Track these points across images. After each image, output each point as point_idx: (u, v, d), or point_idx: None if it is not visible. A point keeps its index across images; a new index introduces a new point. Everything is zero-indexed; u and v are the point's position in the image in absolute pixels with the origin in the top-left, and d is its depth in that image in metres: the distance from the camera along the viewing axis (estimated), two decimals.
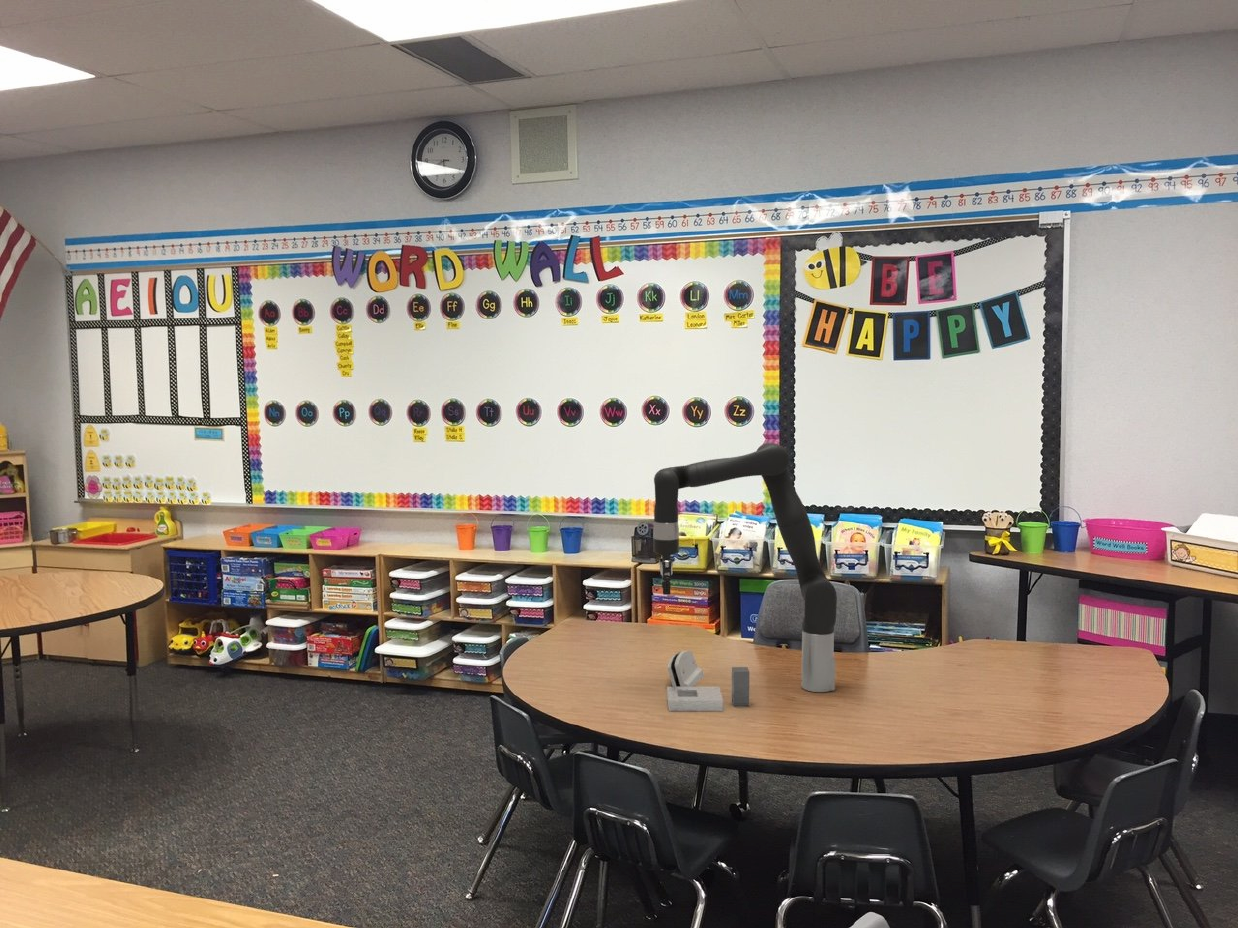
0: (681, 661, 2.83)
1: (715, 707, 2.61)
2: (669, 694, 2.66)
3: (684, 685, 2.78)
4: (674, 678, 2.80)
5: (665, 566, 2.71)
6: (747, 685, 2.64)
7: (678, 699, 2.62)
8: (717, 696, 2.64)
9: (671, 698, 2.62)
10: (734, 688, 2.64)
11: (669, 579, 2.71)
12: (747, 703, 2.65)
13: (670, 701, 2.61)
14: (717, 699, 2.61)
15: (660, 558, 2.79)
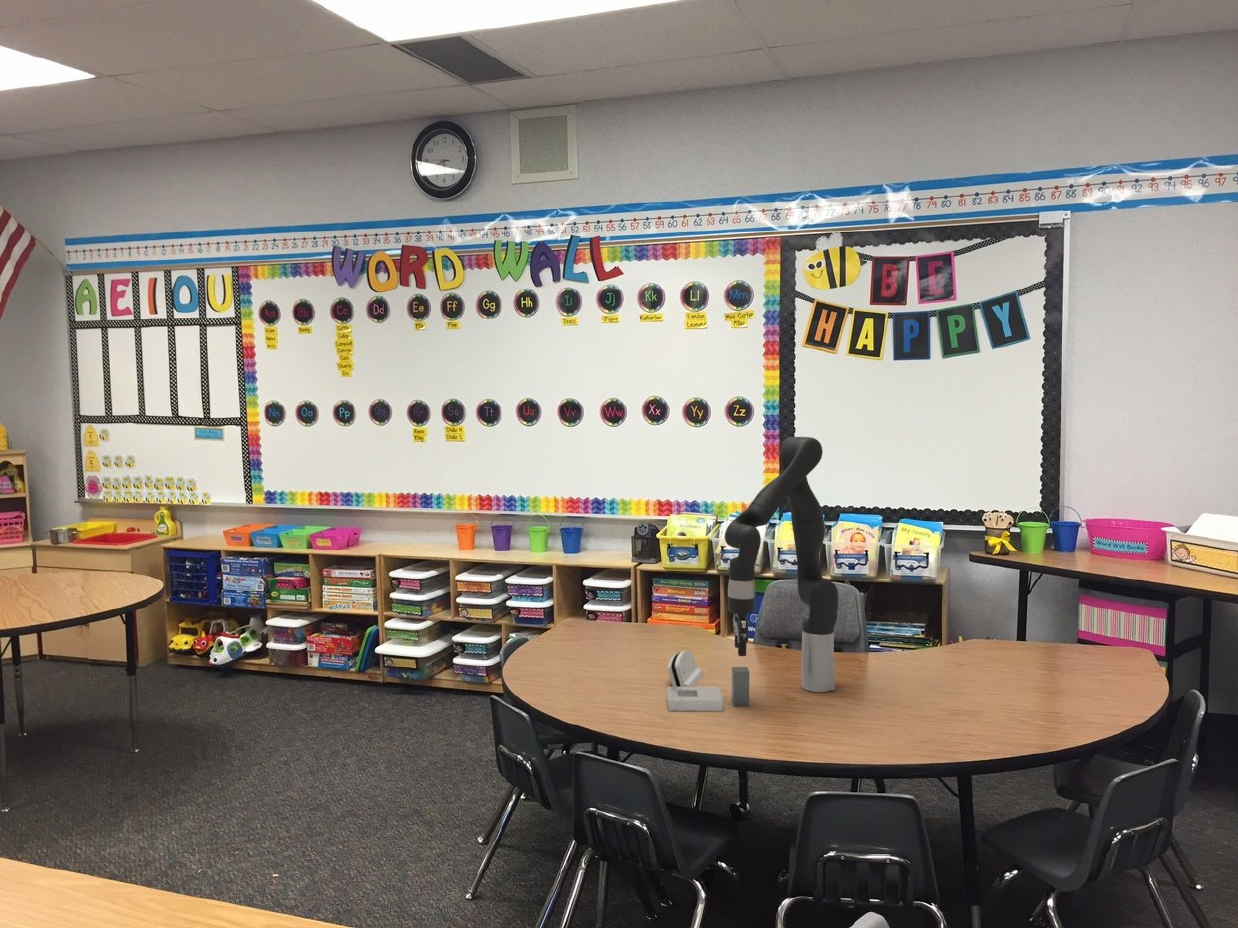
0: (681, 661, 2.82)
1: (715, 707, 2.61)
2: (669, 694, 2.66)
3: (684, 685, 2.78)
4: (674, 678, 2.79)
5: (742, 627, 2.58)
6: (747, 685, 2.64)
7: (678, 699, 2.62)
8: (717, 696, 2.64)
9: (671, 698, 2.62)
10: (734, 688, 2.64)
11: (746, 640, 2.58)
12: (747, 703, 2.65)
13: (670, 701, 2.61)
14: (717, 699, 2.61)
15: (734, 617, 2.66)
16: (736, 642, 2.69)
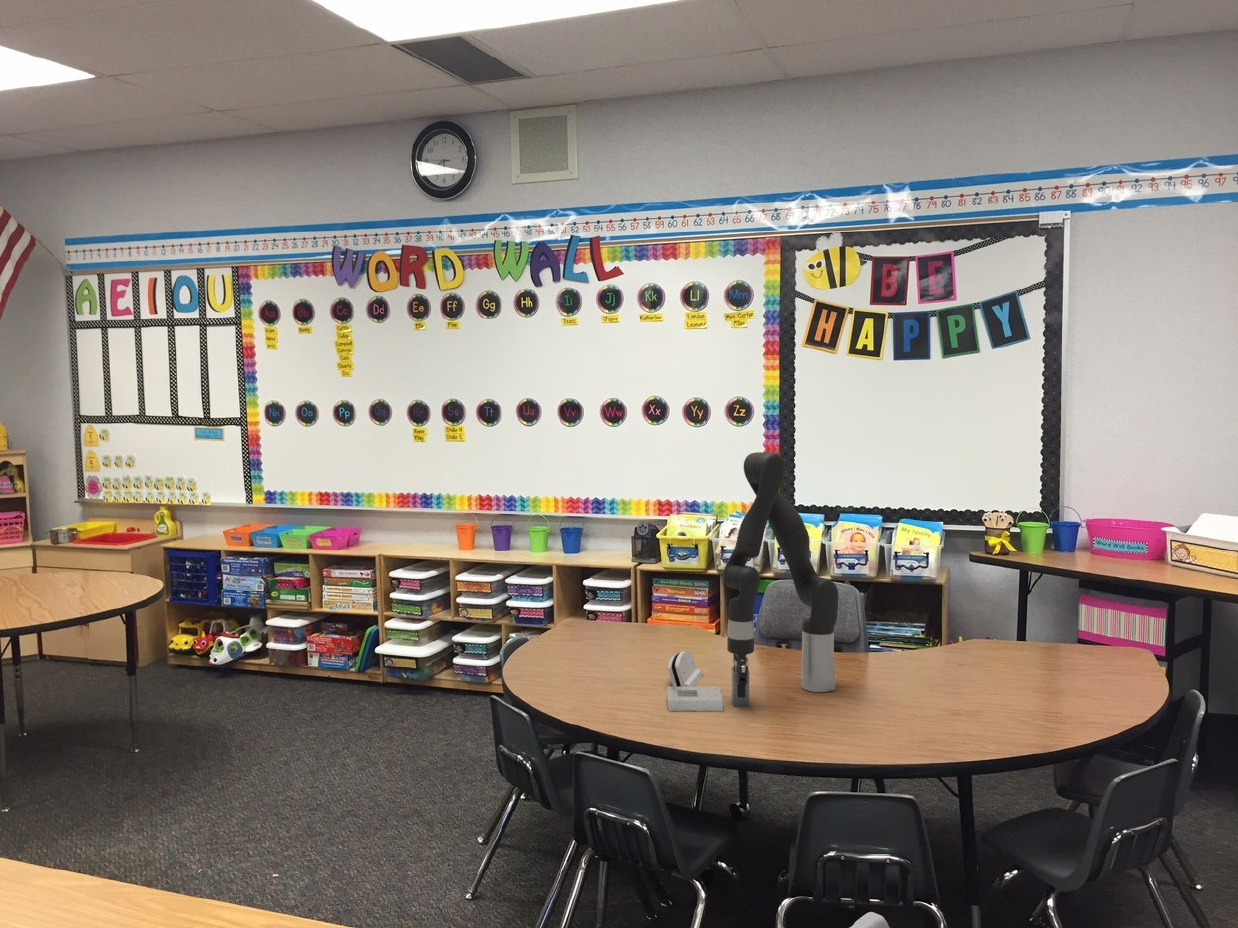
0: (681, 661, 2.82)
1: (715, 707, 2.61)
2: (669, 694, 2.66)
3: (685, 685, 2.78)
4: (675, 678, 2.79)
5: (741, 672, 2.60)
6: (747, 685, 2.64)
7: (678, 699, 2.62)
8: (717, 696, 2.64)
9: (671, 698, 2.62)
10: (734, 688, 2.64)
11: (745, 683, 2.61)
12: (747, 703, 2.64)
13: (670, 701, 2.61)
14: (717, 699, 2.61)
15: (734, 656, 2.67)
16: None
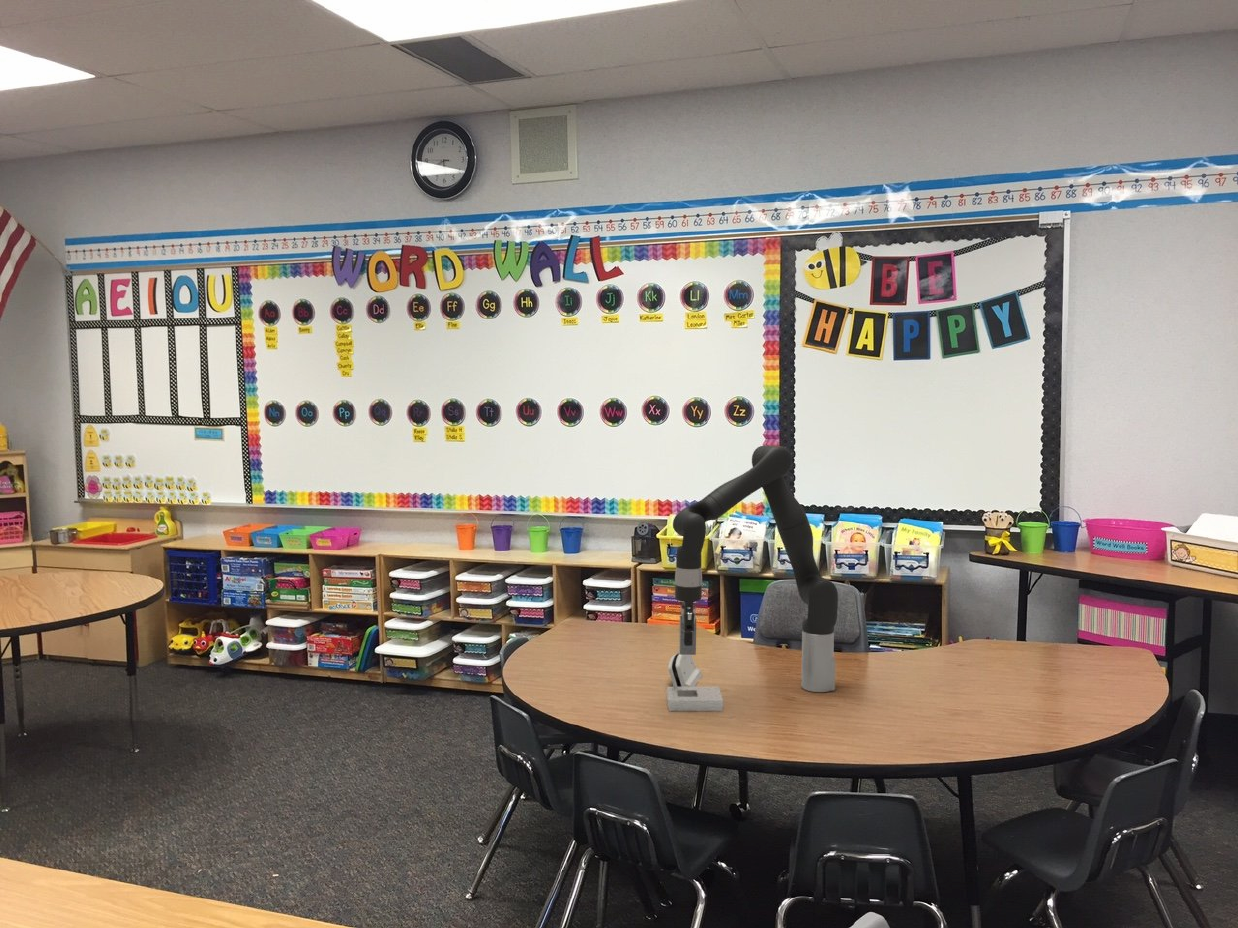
0: (681, 662, 2.82)
1: (715, 707, 2.61)
2: (669, 694, 2.66)
3: (685, 686, 2.78)
4: (675, 679, 2.79)
5: (687, 619, 2.58)
6: (694, 633, 2.63)
7: (678, 699, 2.62)
8: (717, 696, 2.64)
9: (671, 698, 2.62)
10: (681, 636, 2.63)
11: (691, 630, 2.60)
12: (694, 651, 2.63)
13: (670, 701, 2.61)
14: (717, 699, 2.61)
15: (682, 605, 2.66)
16: None
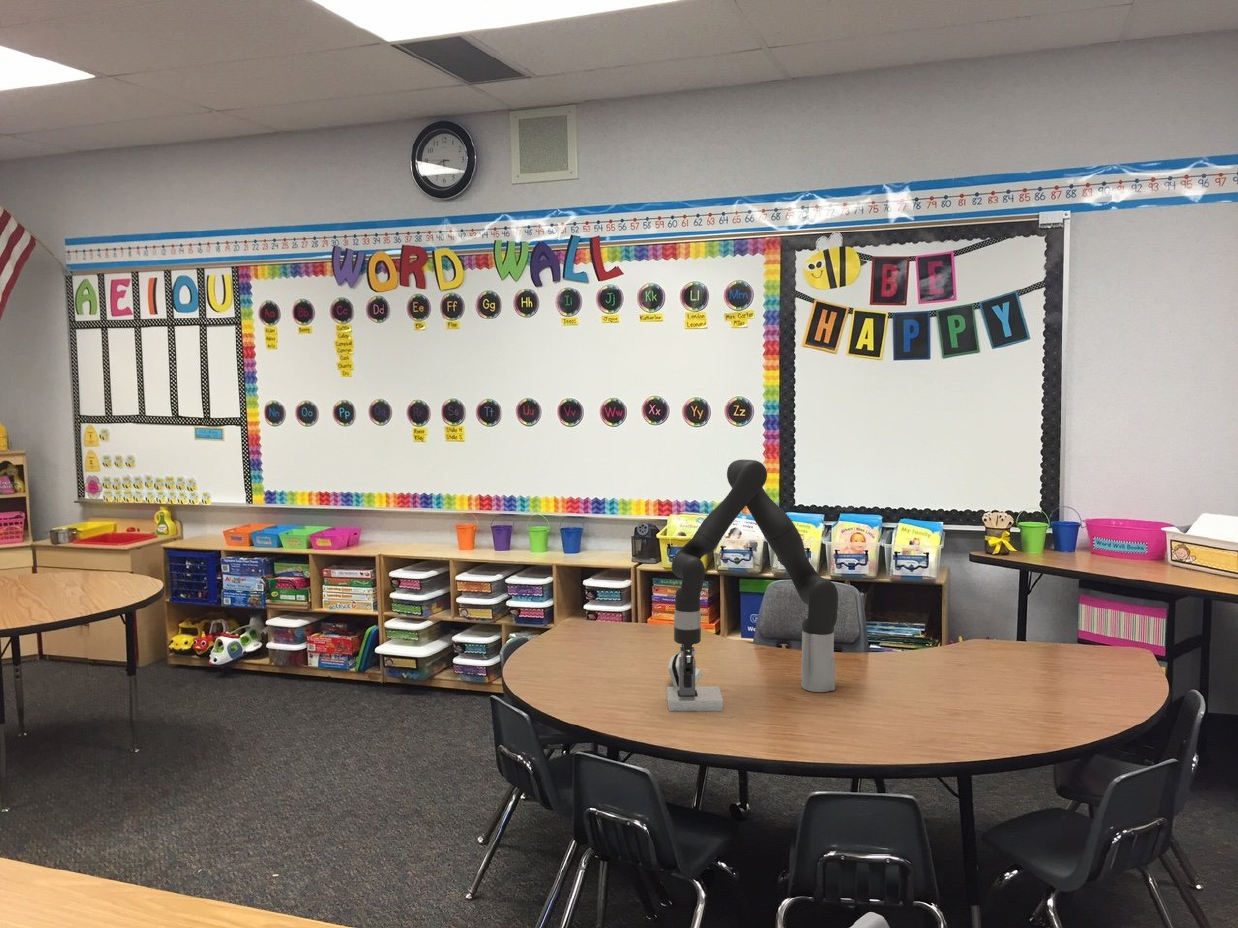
0: None
1: (715, 707, 2.61)
2: (669, 694, 2.66)
3: None
4: (675, 679, 2.79)
5: (687, 662, 2.60)
6: (693, 675, 2.64)
7: (678, 699, 2.62)
8: (717, 696, 2.64)
9: (671, 698, 2.62)
10: (680, 678, 2.64)
11: (690, 673, 2.61)
12: (693, 693, 2.64)
13: (670, 701, 2.61)
14: (717, 699, 2.61)
15: None
16: None
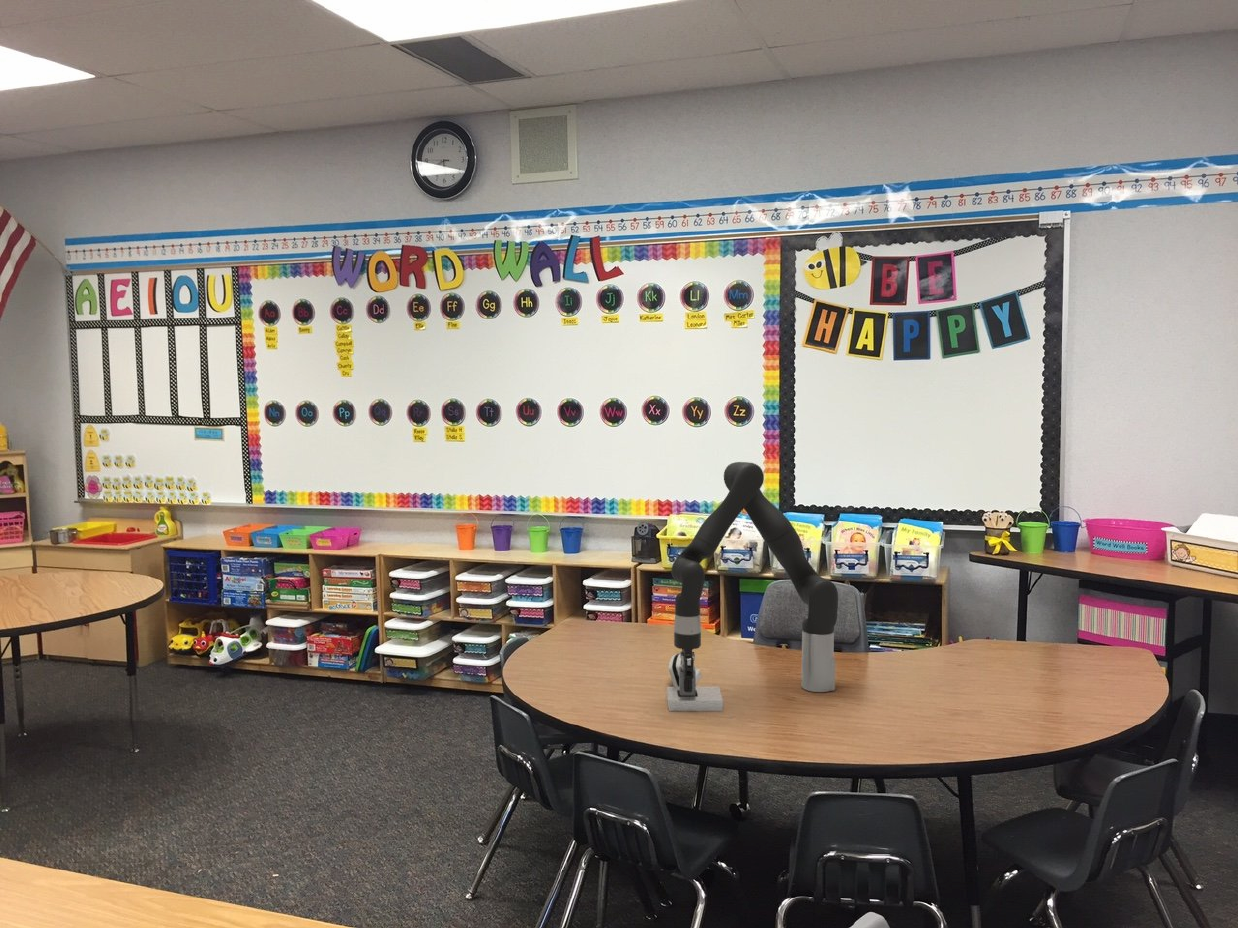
0: None
1: (715, 707, 2.61)
2: (669, 694, 2.66)
3: None
4: (676, 679, 2.79)
5: (687, 664, 2.59)
6: (693, 685, 2.64)
7: (678, 699, 2.62)
8: (717, 696, 2.64)
9: (671, 698, 2.62)
10: (680, 688, 2.64)
11: (691, 677, 2.60)
12: None
13: (670, 701, 2.61)
14: (717, 699, 2.61)
15: None
16: None
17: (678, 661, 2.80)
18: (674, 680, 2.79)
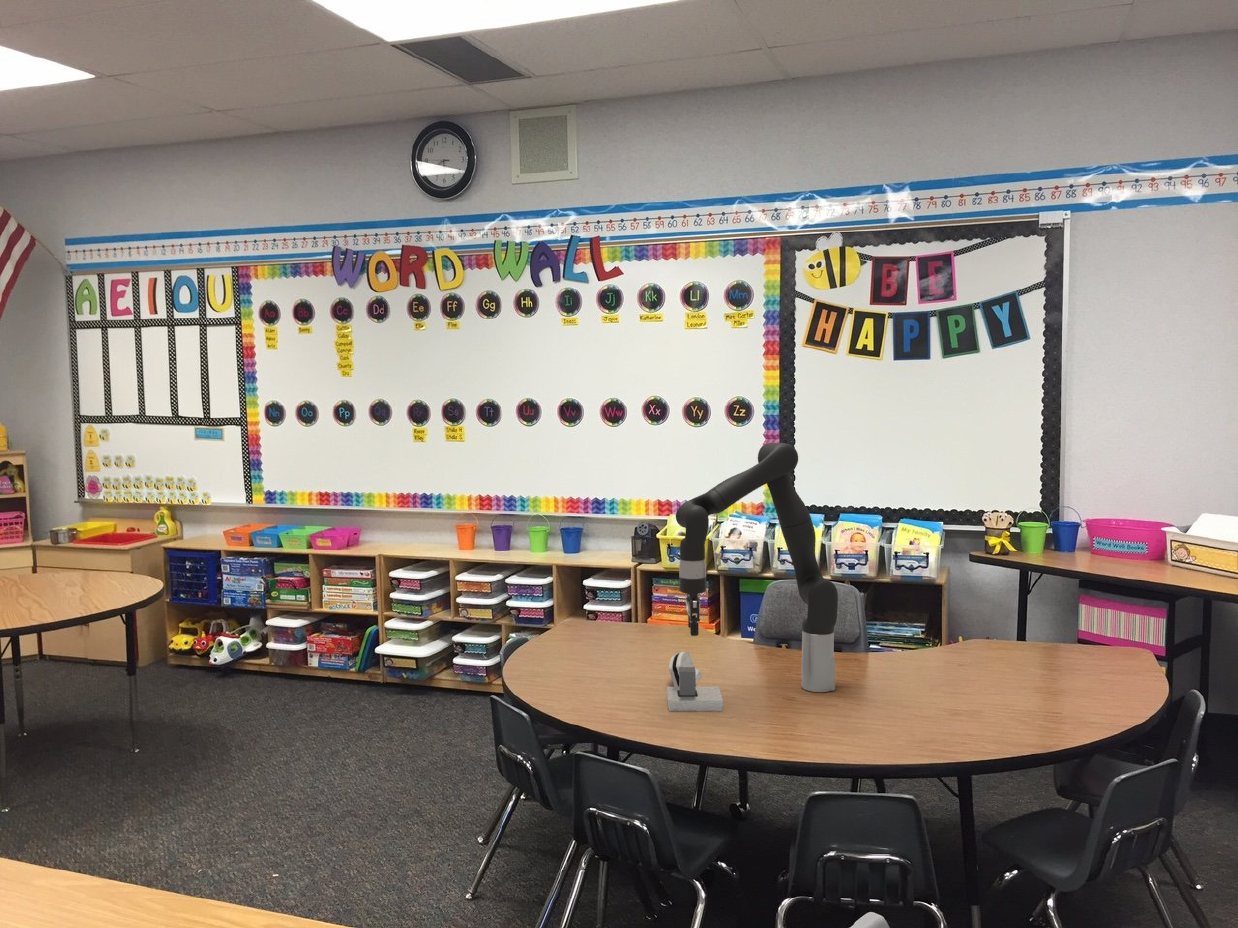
0: (682, 662, 2.81)
1: (715, 707, 2.61)
2: (669, 694, 2.66)
3: None
4: (676, 679, 2.78)
5: (693, 606, 2.59)
6: (693, 685, 2.64)
7: (678, 699, 2.62)
8: (717, 696, 2.64)
9: (671, 698, 2.62)
10: (680, 688, 2.64)
11: (697, 620, 2.59)
12: None
13: (670, 701, 2.61)
14: (717, 699, 2.61)
15: (686, 597, 2.67)
16: (689, 622, 2.70)
17: (678, 661, 2.80)
18: (674, 680, 2.78)
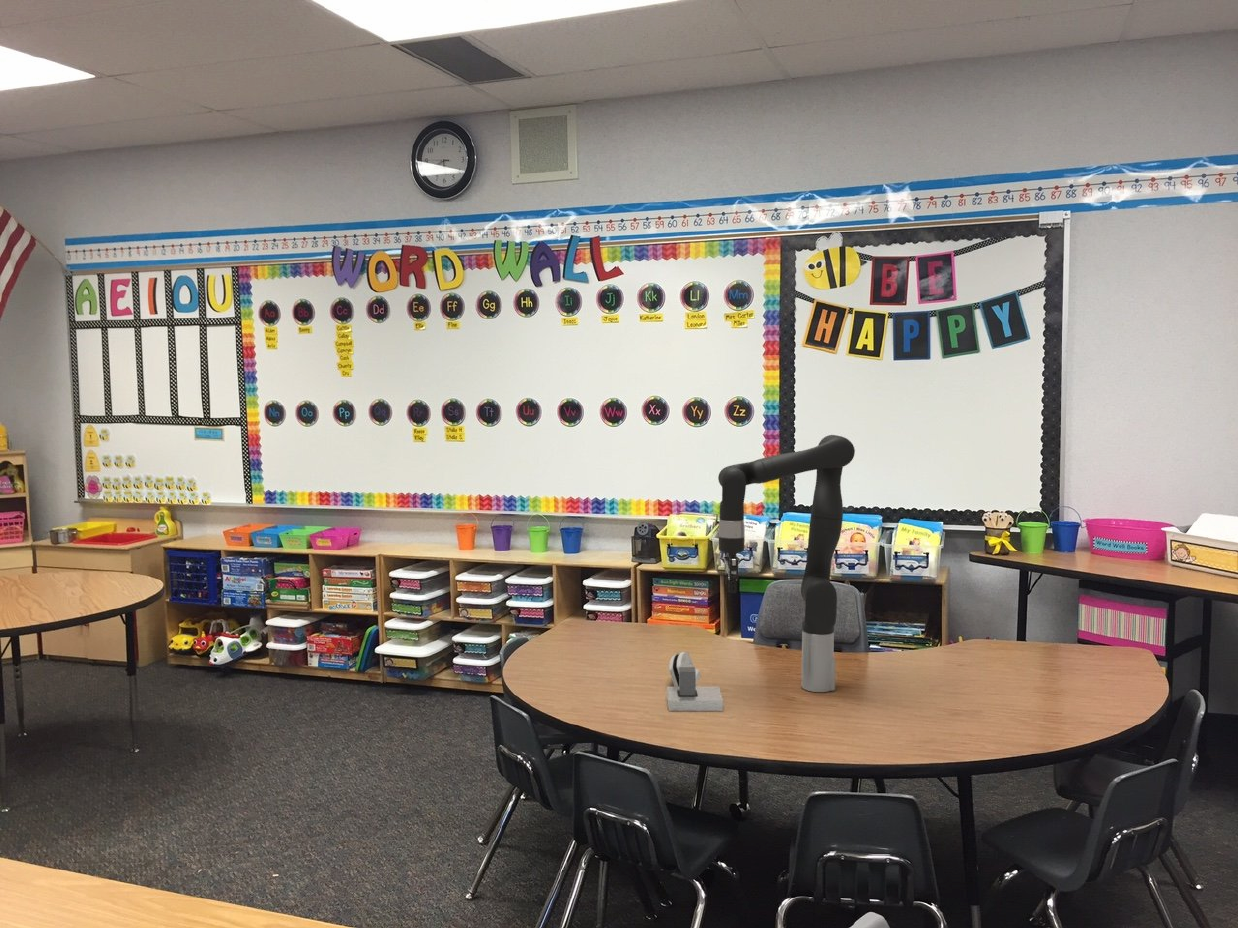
0: (682, 662, 2.81)
1: (715, 707, 2.61)
2: (669, 694, 2.66)
3: None
4: (676, 680, 2.78)
5: (732, 564, 2.69)
6: (693, 685, 2.64)
7: (678, 699, 2.62)
8: (717, 696, 2.64)
9: (671, 698, 2.62)
10: (680, 688, 2.64)
11: (736, 577, 2.69)
12: None
13: (670, 701, 2.61)
14: (717, 699, 2.61)
15: (725, 556, 2.77)
16: (727, 581, 2.80)
17: (678, 661, 2.80)
18: (675, 680, 2.78)
